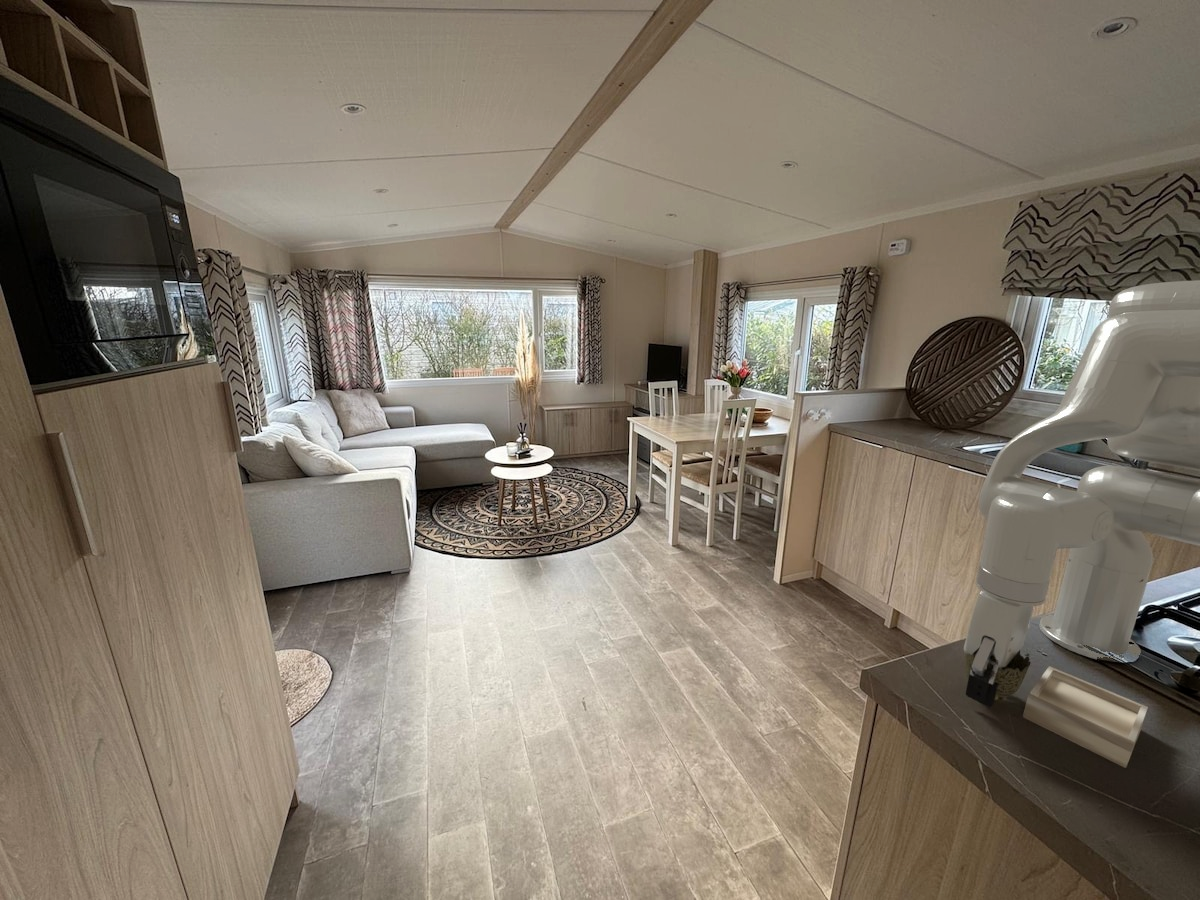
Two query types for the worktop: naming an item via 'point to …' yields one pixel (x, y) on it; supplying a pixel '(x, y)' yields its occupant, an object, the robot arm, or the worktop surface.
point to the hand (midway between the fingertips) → (988, 688)
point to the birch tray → (1086, 715)
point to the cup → (1004, 674)
